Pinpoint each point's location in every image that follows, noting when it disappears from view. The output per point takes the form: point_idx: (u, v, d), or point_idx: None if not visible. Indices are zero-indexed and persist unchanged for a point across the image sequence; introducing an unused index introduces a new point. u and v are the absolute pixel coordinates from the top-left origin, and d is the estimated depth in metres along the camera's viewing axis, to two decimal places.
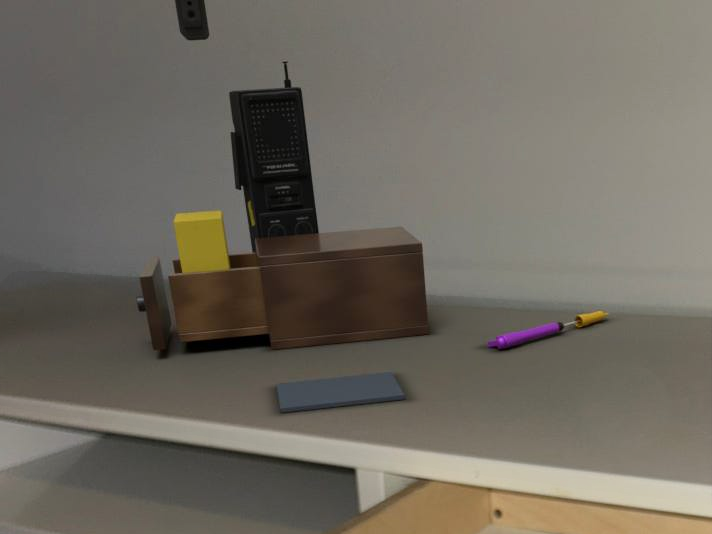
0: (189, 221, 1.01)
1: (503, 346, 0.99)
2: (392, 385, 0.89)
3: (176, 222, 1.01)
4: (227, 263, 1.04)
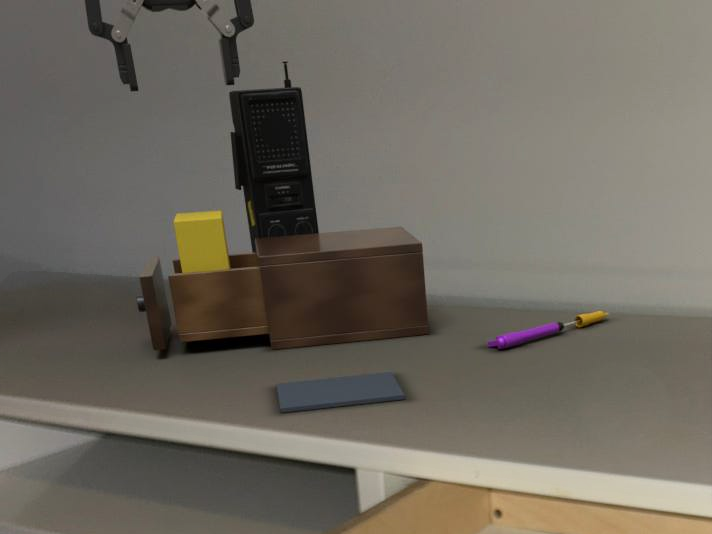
0: (189, 221, 1.01)
1: (503, 346, 0.99)
2: (392, 385, 0.89)
3: (176, 222, 1.01)
4: (227, 263, 1.04)
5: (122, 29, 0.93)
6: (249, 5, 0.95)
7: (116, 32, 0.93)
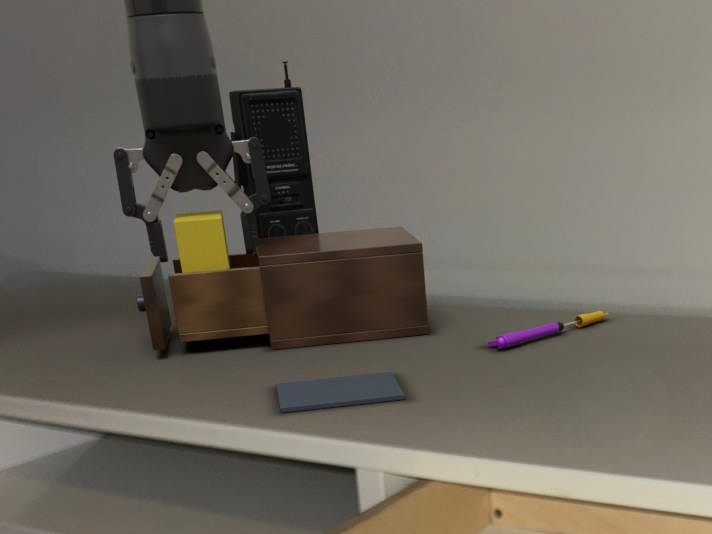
0: (189, 221, 1.01)
1: (503, 346, 0.99)
2: (392, 385, 0.89)
3: (176, 222, 1.01)
4: (227, 263, 1.04)
5: (152, 210, 1.02)
6: (266, 185, 1.04)
7: (147, 213, 1.02)
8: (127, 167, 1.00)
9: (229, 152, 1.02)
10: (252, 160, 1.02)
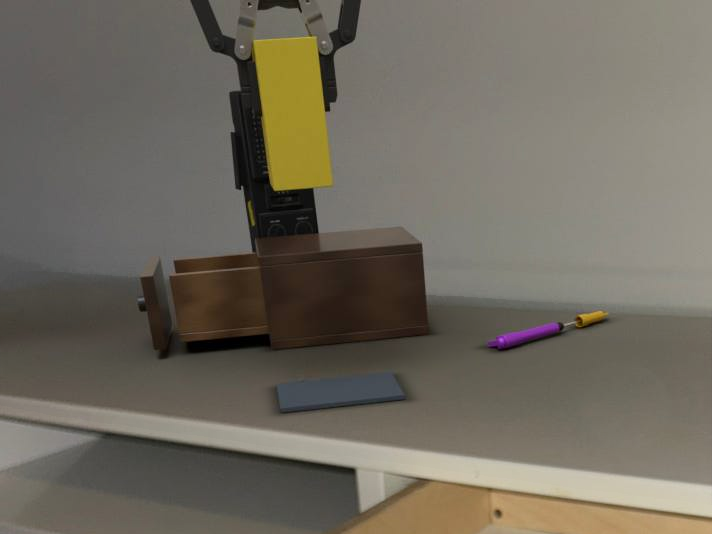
0: (274, 40, 0.76)
1: (503, 346, 0.99)
2: (392, 385, 0.89)
3: (257, 41, 0.76)
4: (322, 101, 0.79)
5: (245, 42, 0.78)
6: (355, 19, 0.79)
7: (240, 47, 0.78)
8: None
9: None
10: None
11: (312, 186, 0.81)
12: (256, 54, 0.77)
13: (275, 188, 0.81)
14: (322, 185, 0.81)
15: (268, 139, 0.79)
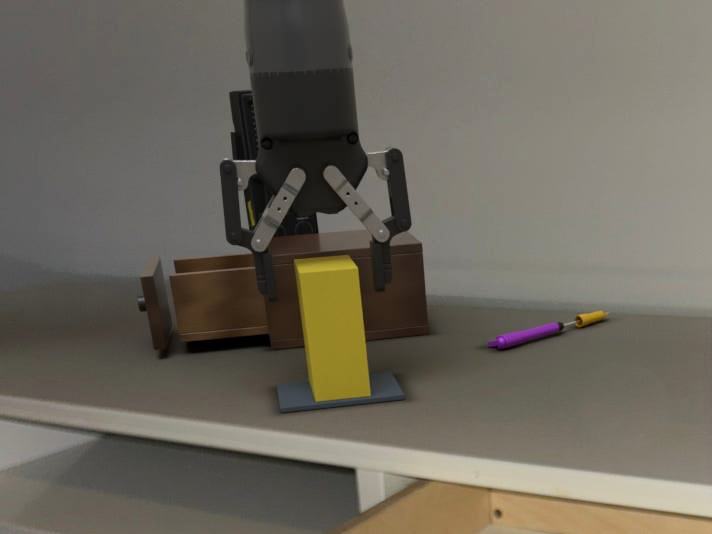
0: (318, 272, 0.81)
1: (503, 346, 0.99)
2: (392, 385, 0.89)
3: (302, 273, 0.81)
4: (362, 323, 0.84)
5: (263, 238, 0.81)
6: (407, 207, 0.83)
7: (256, 241, 0.81)
8: (235, 183, 0.79)
9: (363, 166, 0.81)
10: (391, 176, 0.81)
11: (351, 397, 0.86)
12: (301, 284, 0.81)
13: (316, 399, 0.86)
14: (360, 395, 0.86)
15: (311, 357, 0.84)
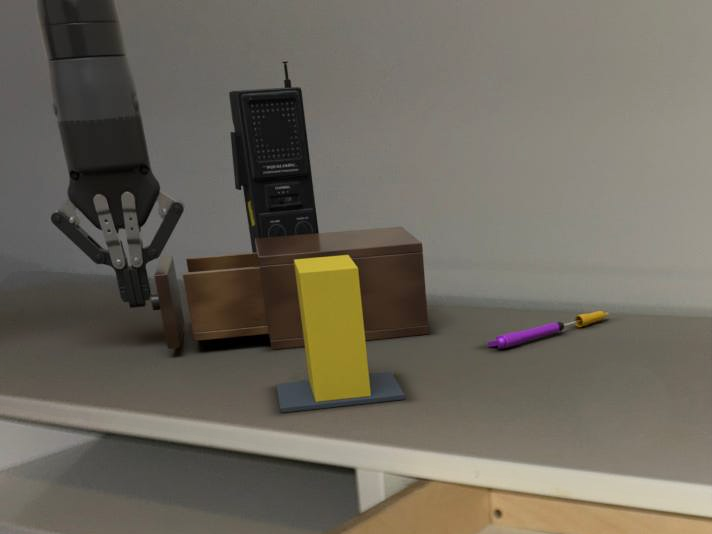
0: (318, 272, 0.81)
1: (503, 346, 0.99)
2: (392, 385, 0.89)
3: (302, 273, 0.81)
4: (362, 323, 0.84)
5: (118, 257, 1.04)
6: (163, 245, 1.04)
7: (116, 260, 1.04)
8: (70, 224, 1.01)
9: (151, 197, 1.02)
10: (166, 218, 1.03)
11: (351, 397, 0.86)
12: (301, 284, 0.81)
13: (316, 399, 0.86)
14: (360, 395, 0.86)
15: (311, 357, 0.84)
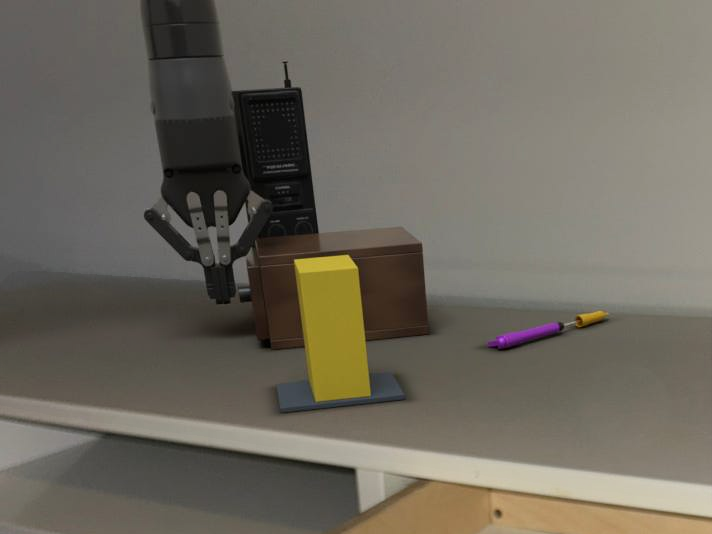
0: (318, 272, 0.81)
1: (503, 346, 0.99)
2: (392, 385, 0.89)
3: (302, 273, 0.81)
4: (362, 323, 0.84)
5: (207, 254, 1.05)
6: (251, 243, 1.06)
7: (205, 258, 1.05)
8: (162, 221, 1.03)
9: (242, 195, 1.04)
10: (255, 216, 1.04)
11: (351, 397, 0.86)
12: (301, 284, 0.81)
13: (316, 399, 0.86)
14: (360, 395, 0.86)
15: (311, 357, 0.84)
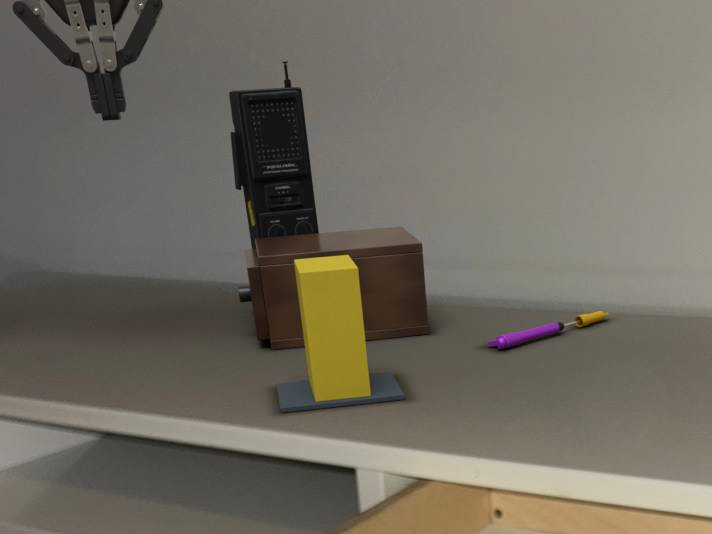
0: (318, 272, 0.81)
1: (503, 346, 0.99)
2: (392, 385, 0.89)
3: (302, 273, 0.81)
4: (362, 323, 0.84)
5: (88, 57, 0.92)
6: (139, 45, 0.93)
7: (87, 62, 0.92)
8: (34, 15, 0.90)
9: None
10: (142, 13, 0.92)
11: (351, 397, 0.86)
12: (301, 284, 0.81)
13: (316, 399, 0.86)
14: (360, 395, 0.86)
15: (311, 357, 0.84)
